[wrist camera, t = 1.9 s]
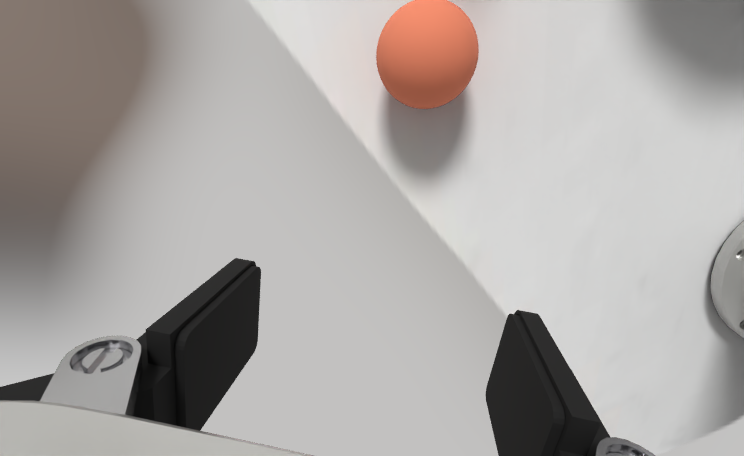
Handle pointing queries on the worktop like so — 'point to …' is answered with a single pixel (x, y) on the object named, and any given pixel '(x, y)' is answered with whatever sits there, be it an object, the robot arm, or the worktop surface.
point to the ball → (427, 53)
